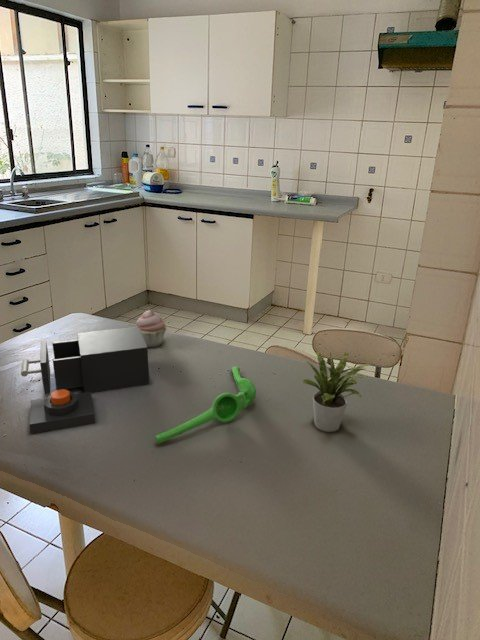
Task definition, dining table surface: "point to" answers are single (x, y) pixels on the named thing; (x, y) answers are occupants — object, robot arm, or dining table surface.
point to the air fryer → (113, 359)
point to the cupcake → (151, 328)
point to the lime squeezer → (218, 408)
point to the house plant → (332, 392)
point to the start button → (60, 397)
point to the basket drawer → (58, 365)
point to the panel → (61, 413)
